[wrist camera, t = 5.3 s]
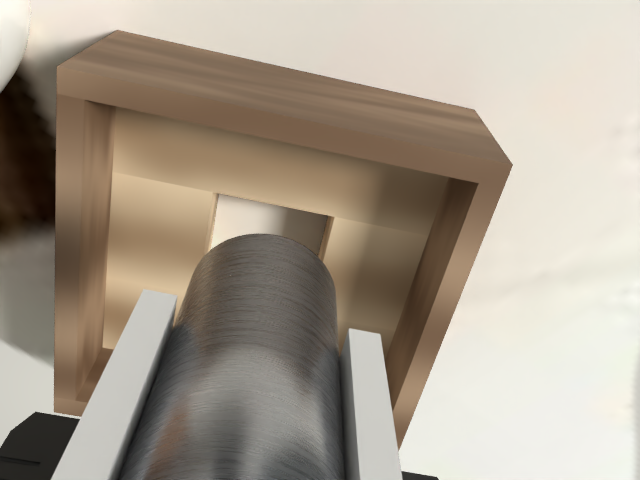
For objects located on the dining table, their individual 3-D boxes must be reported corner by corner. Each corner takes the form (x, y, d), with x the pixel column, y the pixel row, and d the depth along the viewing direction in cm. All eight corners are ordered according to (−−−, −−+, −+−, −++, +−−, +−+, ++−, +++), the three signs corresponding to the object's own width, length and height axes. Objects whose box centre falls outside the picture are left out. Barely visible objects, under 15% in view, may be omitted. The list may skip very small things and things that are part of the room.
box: (117, 30, 28) (56, 66, 22) (474, 109, 29) (512, 164, 23) (101, 324, 36) (53, 412, 30) (381, 375, 37) (391, 468, 31)
